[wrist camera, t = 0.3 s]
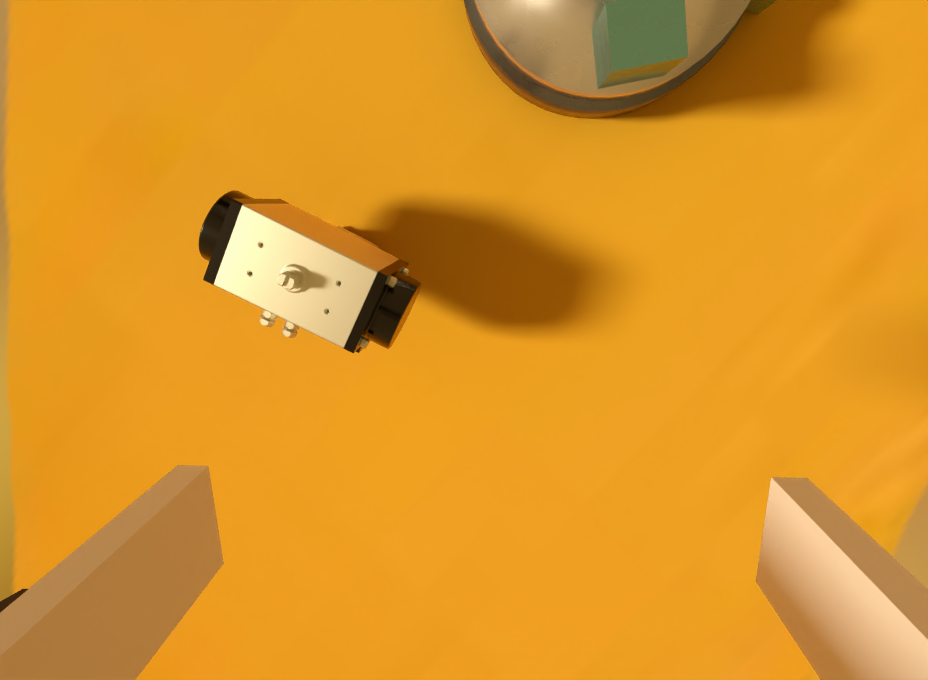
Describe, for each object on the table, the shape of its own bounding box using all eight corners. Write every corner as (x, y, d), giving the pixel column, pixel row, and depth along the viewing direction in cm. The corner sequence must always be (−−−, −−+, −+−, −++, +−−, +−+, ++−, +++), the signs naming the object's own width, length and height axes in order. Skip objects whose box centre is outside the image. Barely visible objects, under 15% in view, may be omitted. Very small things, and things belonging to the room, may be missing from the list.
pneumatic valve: (289, 190, 37) (193, 184, 26) (438, 264, 38) (409, 292, 26) (262, 260, 39) (159, 285, 27) (406, 331, 39) (366, 385, 28)
